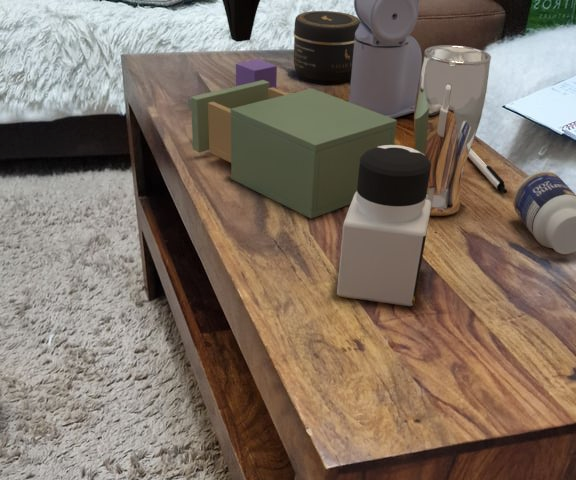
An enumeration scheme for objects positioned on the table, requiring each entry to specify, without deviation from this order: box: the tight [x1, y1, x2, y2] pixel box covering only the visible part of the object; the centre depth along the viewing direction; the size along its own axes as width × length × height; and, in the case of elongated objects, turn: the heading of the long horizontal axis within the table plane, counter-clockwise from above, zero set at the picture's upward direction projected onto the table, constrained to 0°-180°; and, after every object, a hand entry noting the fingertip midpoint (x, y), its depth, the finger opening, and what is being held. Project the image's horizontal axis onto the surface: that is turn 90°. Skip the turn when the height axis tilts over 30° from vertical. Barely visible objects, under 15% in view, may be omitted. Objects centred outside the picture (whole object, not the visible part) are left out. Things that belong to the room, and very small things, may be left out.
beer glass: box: [413, 44, 492, 217], centre depth 81 cm, size 7×7×15 cm
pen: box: [467, 148, 508, 194], centre depth 95 cm, size 1×19×1 cm, turn 11°
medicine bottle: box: [336, 144, 431, 307], centre depth 69 cm, size 7×7×12 cm
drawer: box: [186, 80, 290, 164], centre depth 92 cm, size 17×11×6 cm
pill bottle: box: [513, 170, 576, 255], centre depth 79 cm, size 5×5×10 cm
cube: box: [235, 58, 278, 89], centre depth 111 cm, size 4×4×4 cm
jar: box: [293, 10, 360, 85], centre depth 116 cm, size 10×10×8 cm
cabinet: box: [230, 87, 398, 220], centre depth 86 cm, size 13×12×8 cm
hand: (240, 39), depth 99 cm, fingers closed
